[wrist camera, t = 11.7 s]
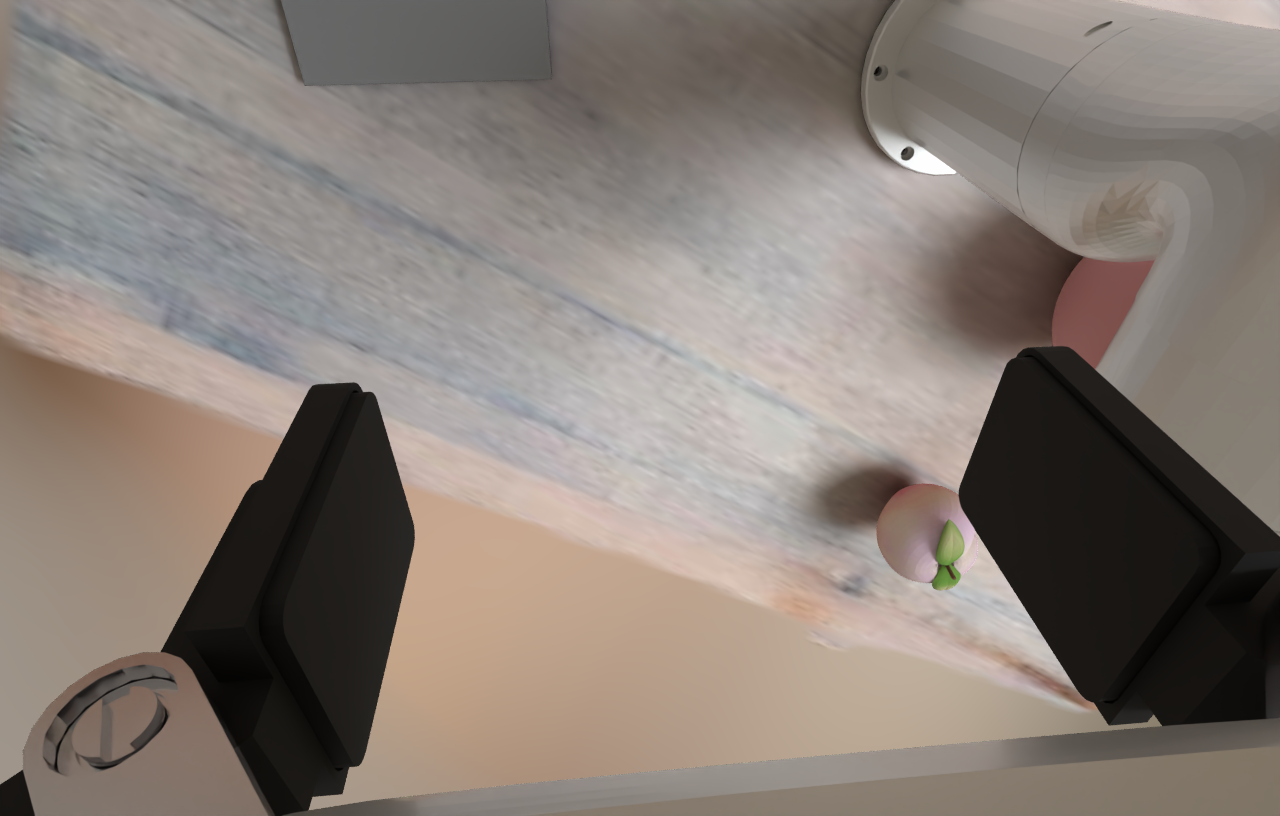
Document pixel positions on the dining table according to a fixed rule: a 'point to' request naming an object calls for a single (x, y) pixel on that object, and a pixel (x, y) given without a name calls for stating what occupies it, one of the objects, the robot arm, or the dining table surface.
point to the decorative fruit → (927, 535)
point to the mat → (419, 40)
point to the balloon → (1095, 305)
